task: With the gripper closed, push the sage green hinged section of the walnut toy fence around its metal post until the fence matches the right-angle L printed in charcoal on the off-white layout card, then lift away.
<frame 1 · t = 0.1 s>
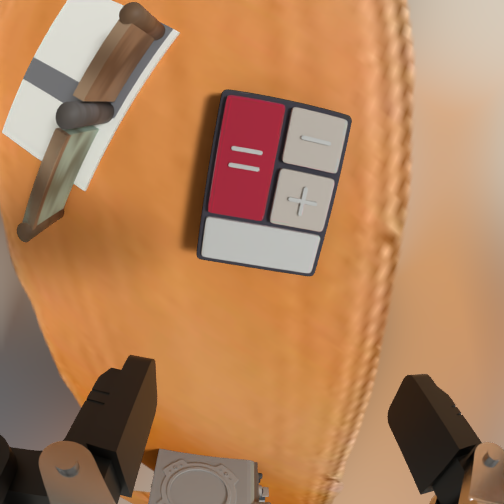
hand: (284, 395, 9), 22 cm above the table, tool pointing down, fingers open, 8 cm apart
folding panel: (55, 181, 24), point 4 cm above the table, hinge at 0.0°
portable television: (214, 465, 51), on the table
calculator: (269, 179, 29), on the table
fence fixed section: (105, 112, 25), resting on layout card
layout card: (74, 82, 24), on the table
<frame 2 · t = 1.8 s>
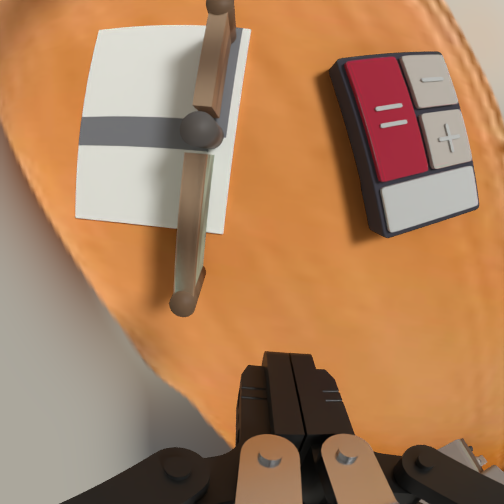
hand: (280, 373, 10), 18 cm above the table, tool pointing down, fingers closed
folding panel: (193, 229, 23), point 4 cm above the table, hinge at 0.0°
portable television: (423, 465, 40), on the table
calculator: (401, 138, 25), on the table
fence fixed section: (210, 136, 24), resting on layout card
layout card: (153, 120, 24), on the table
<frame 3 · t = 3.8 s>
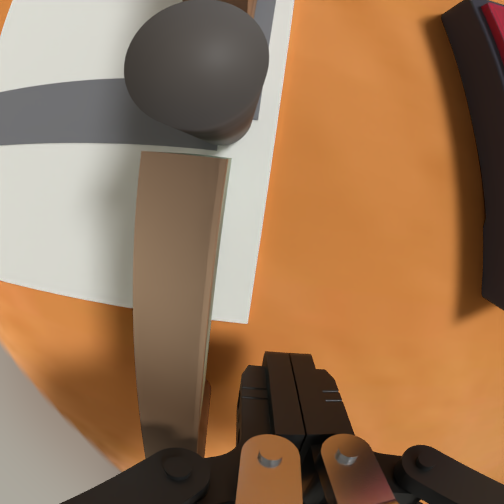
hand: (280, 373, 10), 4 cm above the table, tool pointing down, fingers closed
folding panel: (185, 347, 9), point 4 cm above the table, hinge at -0.7°, touching gripper
fence fixed section: (222, 116, 11), resting on layout card
layout card: (102, 87, 10), on the table
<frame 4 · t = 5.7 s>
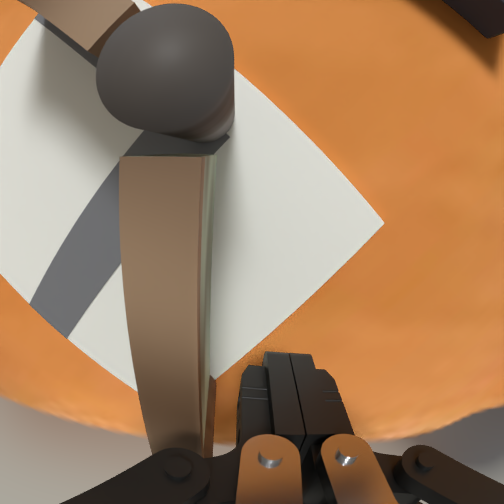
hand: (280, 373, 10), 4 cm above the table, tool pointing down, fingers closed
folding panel: (184, 344, 9), point 4 cm above the table, hinge at -50.5°, touching gripper
fence fixed section: (205, 114, 11), resting on layout card
layout card: (103, 196, 11), on the table
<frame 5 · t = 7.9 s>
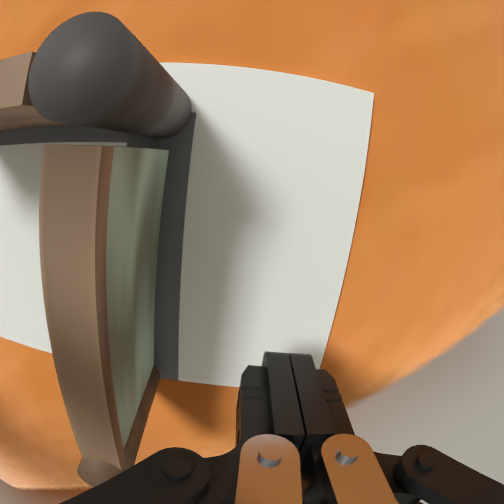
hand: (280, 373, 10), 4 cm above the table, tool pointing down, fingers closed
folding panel: (114, 326, 9), point 4 cm above the table, hinge at -92.0°
fence fixed section: (164, 111, 11), resting on layout card
layout card: (130, 233, 12), on the table
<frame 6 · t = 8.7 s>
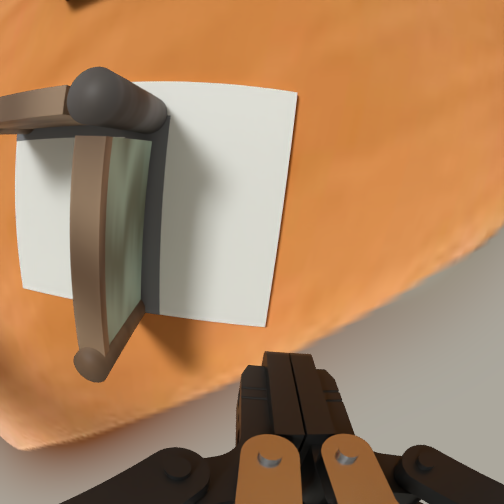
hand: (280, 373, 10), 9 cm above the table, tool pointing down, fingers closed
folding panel: (111, 253, 14), point 4 cm above the table, hinge at -92.0°
fence fixed section: (150, 115, 16), resting on layout card
layout card: (127, 200, 17), on the table
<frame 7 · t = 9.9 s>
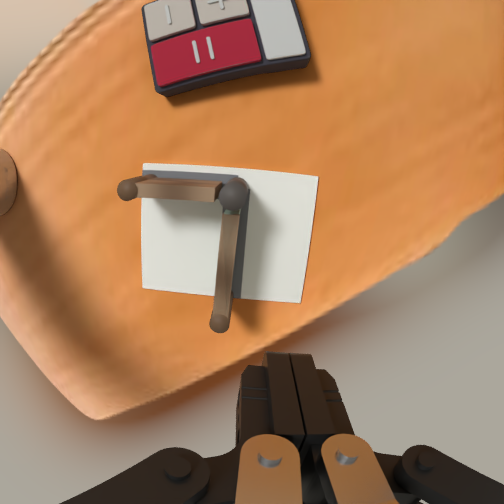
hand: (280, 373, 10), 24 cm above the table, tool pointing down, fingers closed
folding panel: (226, 265, 30), point 4 cm above the table, hinge at -92.0°
calculator: (224, 36, 27), on the table
fence fixed section: (237, 187, 31), resting on layout card
layout card: (224, 234, 33), on the table
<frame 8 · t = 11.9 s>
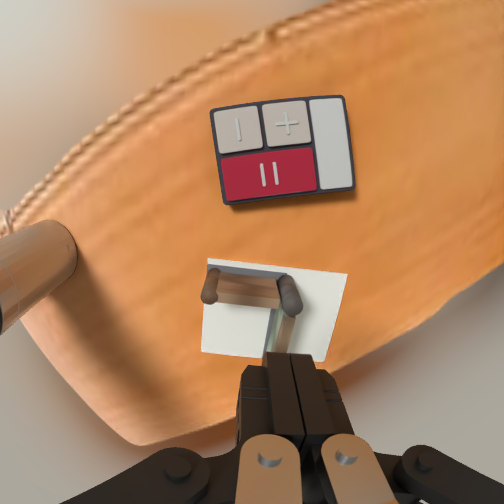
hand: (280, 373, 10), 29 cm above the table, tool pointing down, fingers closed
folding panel: (277, 344, 38), point 4 cm above the table, hinge at -92.0°
calculator: (281, 148, 36), on the table
fence fixed section: (285, 281, 40), resting on layout card
layout card: (271, 315, 42), on the table
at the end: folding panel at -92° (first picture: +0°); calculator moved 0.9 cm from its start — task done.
